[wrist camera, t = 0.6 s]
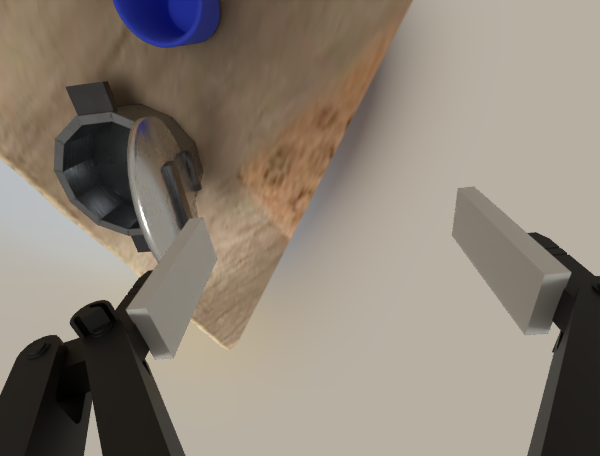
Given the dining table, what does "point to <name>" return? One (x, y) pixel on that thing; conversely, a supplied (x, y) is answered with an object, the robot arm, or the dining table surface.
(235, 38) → the dining table surface
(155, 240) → the lid
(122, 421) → the robot arm
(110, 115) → the pot
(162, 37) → the mug
